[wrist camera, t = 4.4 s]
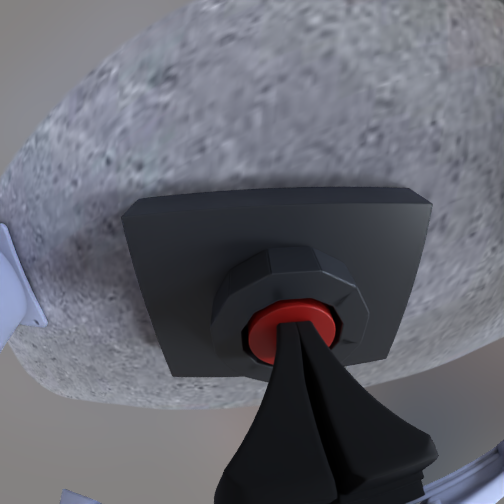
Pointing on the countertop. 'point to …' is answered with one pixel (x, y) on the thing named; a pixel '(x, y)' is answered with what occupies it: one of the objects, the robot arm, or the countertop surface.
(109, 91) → the countertop surface
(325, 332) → the power button
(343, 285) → the control box
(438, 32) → the countertop surface
